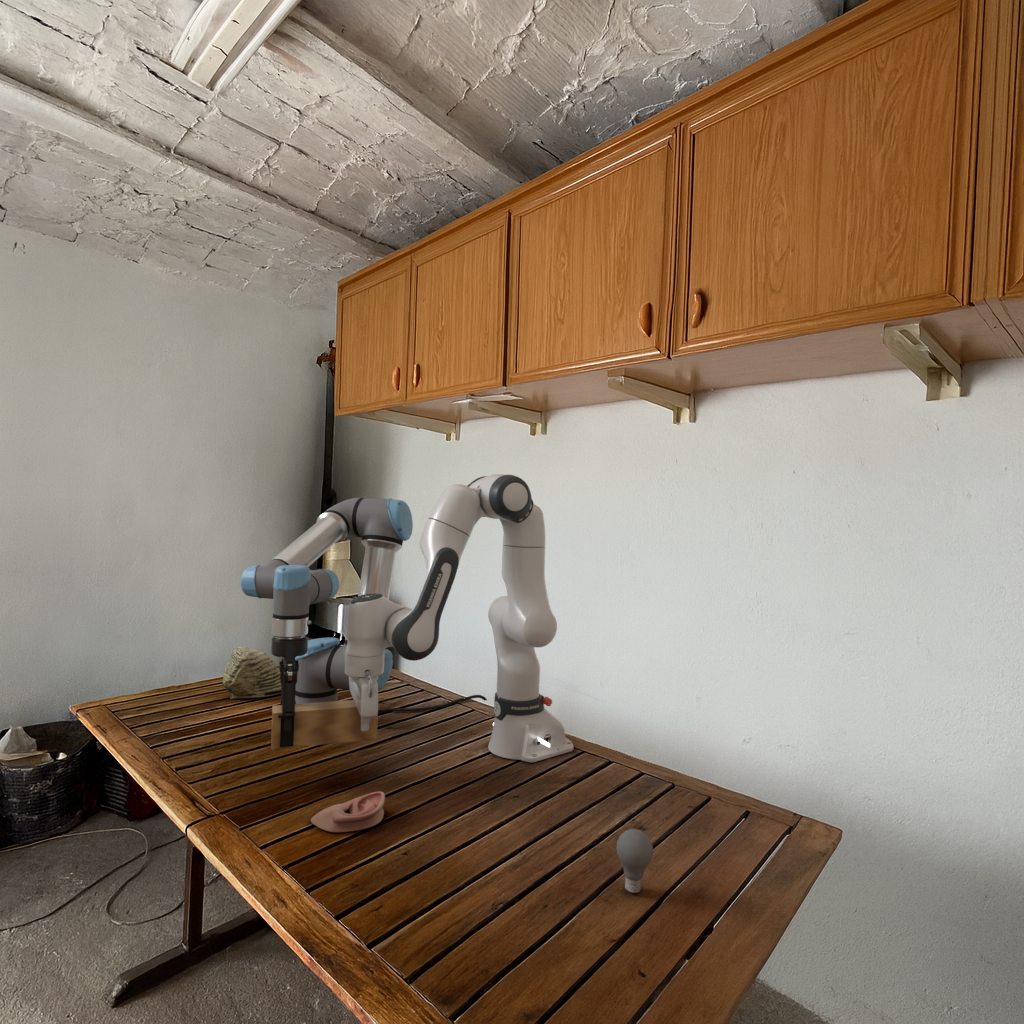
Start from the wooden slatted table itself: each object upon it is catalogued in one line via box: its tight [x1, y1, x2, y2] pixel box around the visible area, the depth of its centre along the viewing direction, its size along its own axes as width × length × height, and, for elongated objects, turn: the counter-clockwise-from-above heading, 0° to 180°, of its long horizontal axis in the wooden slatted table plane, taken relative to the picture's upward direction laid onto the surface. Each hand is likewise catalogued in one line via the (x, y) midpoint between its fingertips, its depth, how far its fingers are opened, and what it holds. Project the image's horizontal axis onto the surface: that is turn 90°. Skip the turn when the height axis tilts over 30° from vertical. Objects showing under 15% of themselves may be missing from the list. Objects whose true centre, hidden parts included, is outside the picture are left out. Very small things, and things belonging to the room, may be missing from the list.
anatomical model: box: [310, 790, 386, 833], centre depth 125 cm, size 13×4×12 cm
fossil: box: [222, 646, 281, 699], centre depth 198 cm, size 9×18×15 cm, turn 132°
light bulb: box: [615, 828, 654, 894], centre depth 106 cm, size 6×6×10 cm
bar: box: [270, 699, 379, 750], centre depth 142 cm, size 22×5×8 cm, turn 111°
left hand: (286, 740), depth 139 cm, fingers closed on bar, 5 cm apart
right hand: (362, 724), depth 145 cm, fingers closed on bar, 5 cm apart
